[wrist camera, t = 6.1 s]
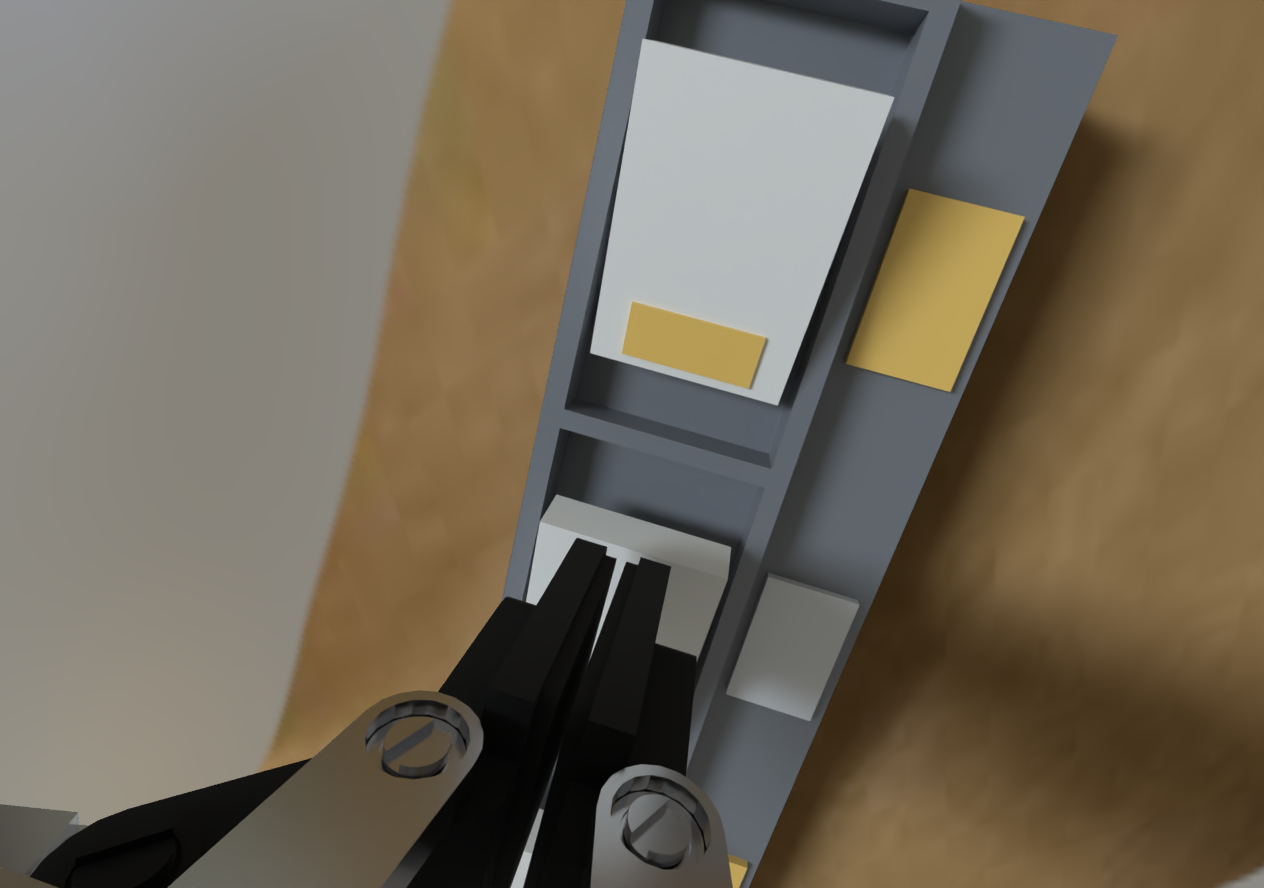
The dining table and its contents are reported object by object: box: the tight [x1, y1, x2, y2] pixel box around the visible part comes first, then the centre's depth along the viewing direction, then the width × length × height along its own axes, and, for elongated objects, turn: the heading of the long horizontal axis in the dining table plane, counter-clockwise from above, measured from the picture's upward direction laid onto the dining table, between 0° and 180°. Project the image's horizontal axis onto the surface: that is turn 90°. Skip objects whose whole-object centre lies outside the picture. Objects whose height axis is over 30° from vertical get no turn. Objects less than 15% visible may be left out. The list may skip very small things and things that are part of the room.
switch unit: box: [502, 0, 1118, 888], centre depth 15 cm, size 25×8×4 cm, turn 166°
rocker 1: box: [526, 495, 731, 661], centre depth 13 cm, size 5×4×1 cm
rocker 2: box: [590, 39, 894, 406], centre depth 10 cm, size 5×4×1 cm
